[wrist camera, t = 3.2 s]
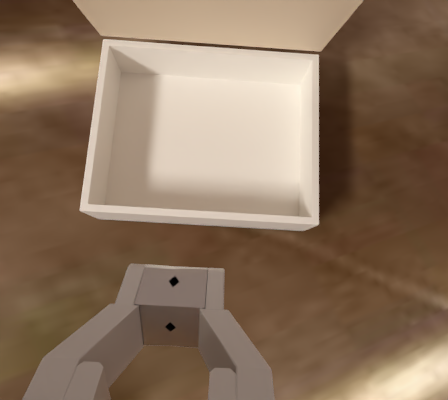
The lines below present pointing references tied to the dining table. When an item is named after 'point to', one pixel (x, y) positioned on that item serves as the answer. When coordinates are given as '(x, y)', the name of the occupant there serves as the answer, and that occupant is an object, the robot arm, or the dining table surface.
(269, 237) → the dining table surface
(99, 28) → the mailer lid
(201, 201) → the tray
